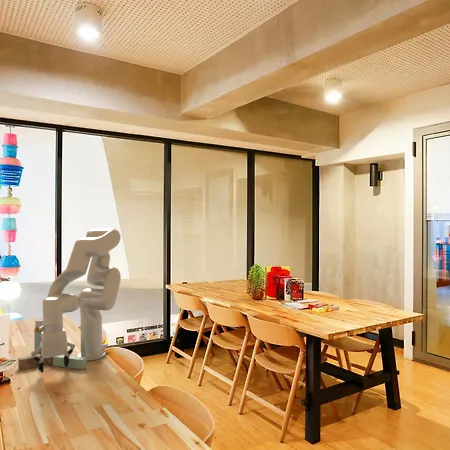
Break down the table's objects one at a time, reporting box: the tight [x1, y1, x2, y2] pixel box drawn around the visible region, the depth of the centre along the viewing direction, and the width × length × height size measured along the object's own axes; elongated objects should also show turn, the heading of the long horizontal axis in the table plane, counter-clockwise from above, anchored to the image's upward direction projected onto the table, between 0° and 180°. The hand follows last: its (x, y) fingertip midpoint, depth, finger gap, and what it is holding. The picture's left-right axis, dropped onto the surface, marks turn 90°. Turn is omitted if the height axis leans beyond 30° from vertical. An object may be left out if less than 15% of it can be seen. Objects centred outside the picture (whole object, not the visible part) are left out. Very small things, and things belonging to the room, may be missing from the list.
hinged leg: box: [52, 354, 88, 370], centre depth 178 cm, size 16×3×5 cm, turn 72°
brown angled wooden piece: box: [17, 353, 53, 371], centre depth 185 cm, size 25×11×5 cm, turn 158°
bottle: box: [33, 317, 43, 350], centre depth 202 cm, size 7×7×15 cm
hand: (54, 368), depth 170 cm, fingers open, 9 cm apart
